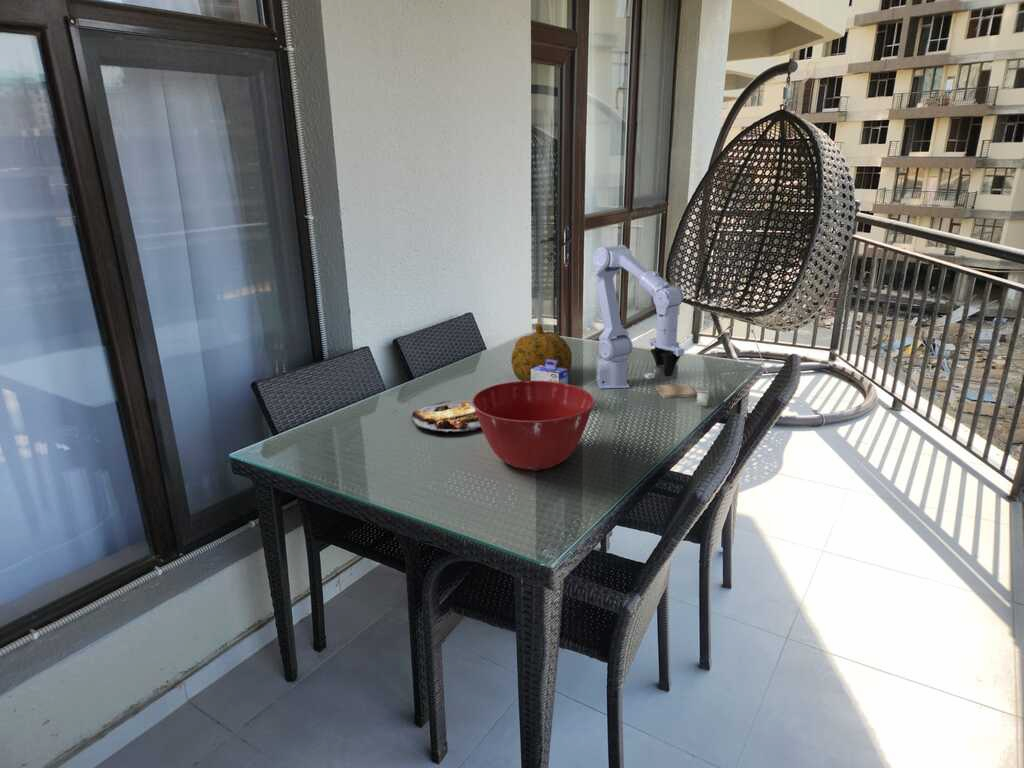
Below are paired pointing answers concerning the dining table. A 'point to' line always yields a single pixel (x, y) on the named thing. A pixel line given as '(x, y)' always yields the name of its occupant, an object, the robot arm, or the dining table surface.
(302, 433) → the dining table surface
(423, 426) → the food plate
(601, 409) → the dining table surface
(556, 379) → the ink cartridge box
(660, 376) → the charcoal plug
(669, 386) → the cork pad
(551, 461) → the mixing bowl
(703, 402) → the offwhite plug
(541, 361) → the decorative pumpkin
